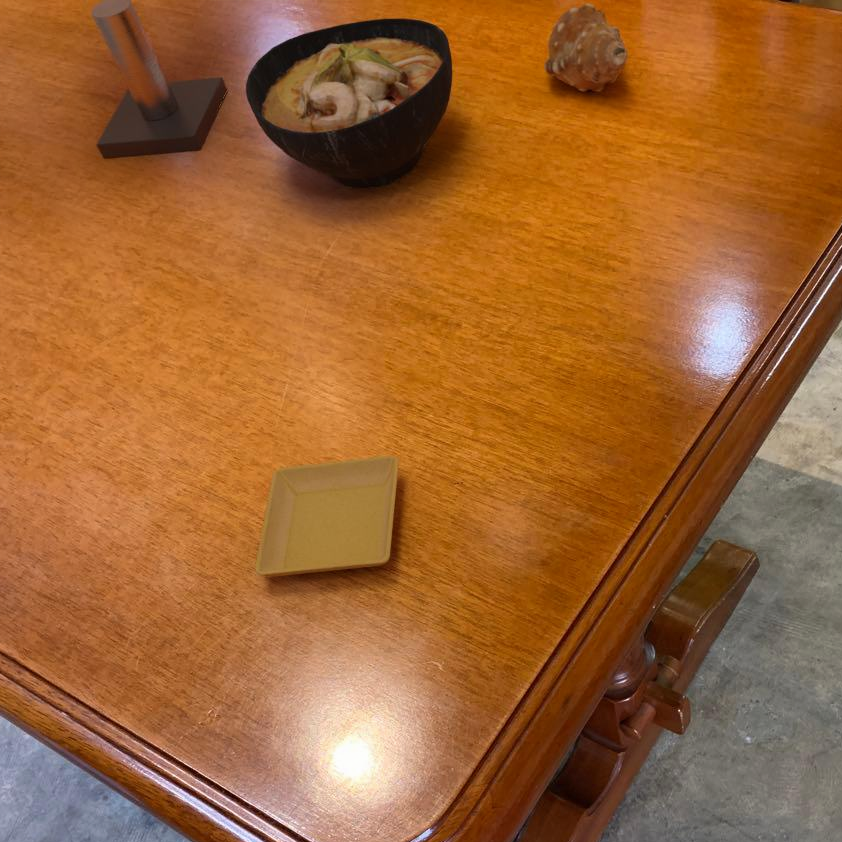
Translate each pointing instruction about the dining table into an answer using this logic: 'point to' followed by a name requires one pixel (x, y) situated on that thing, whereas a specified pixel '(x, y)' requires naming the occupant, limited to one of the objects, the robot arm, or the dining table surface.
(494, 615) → the dining table surface
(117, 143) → the metal peg stand
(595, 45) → the seashell
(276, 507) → the saucer
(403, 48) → the bowl
